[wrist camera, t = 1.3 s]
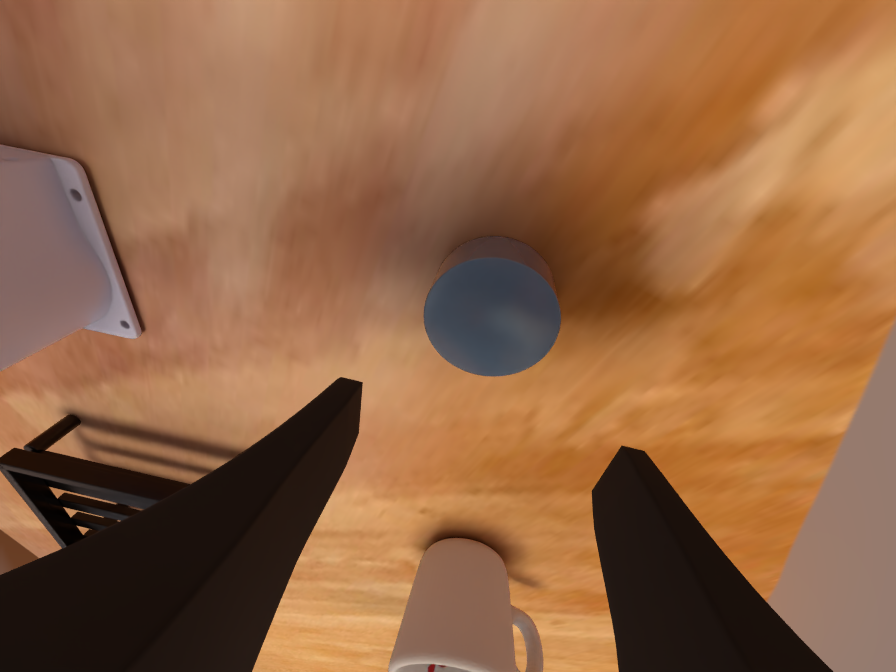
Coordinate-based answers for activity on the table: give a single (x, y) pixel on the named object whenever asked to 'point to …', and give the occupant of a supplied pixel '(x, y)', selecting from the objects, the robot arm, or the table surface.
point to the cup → (462, 615)
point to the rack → (78, 486)
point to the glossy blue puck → (493, 307)
